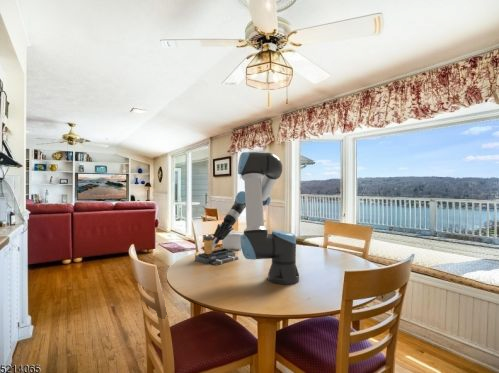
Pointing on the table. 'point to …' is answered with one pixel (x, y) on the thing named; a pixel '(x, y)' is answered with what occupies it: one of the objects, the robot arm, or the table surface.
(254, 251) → the robot arm
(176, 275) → the table surface
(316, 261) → the table surface
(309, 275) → the table surface
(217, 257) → the breaker panel
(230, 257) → the cord bundle
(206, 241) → the breaker toggle
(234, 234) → the cable organizer
